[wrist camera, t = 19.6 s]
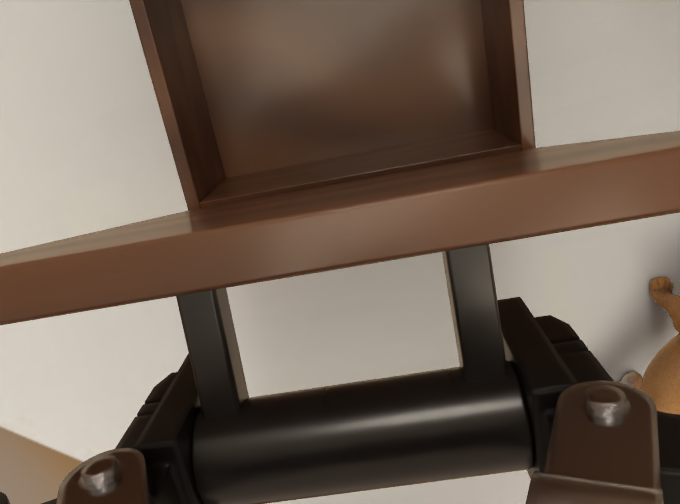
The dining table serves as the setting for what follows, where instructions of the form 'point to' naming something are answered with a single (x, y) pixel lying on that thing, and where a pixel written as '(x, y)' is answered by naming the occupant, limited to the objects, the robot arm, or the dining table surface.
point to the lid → (342, 252)
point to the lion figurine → (662, 356)
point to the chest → (332, 89)
